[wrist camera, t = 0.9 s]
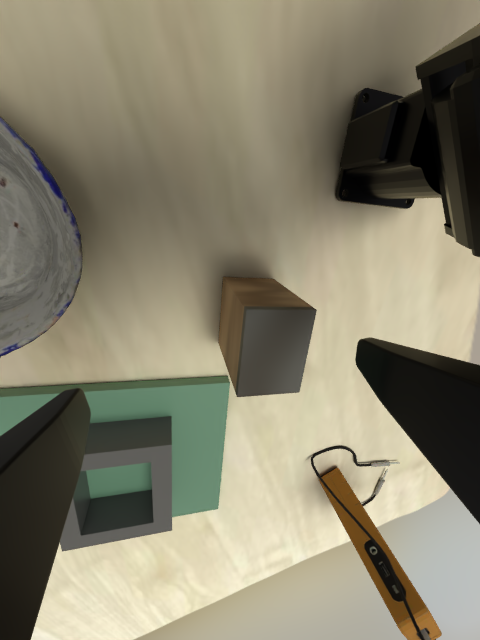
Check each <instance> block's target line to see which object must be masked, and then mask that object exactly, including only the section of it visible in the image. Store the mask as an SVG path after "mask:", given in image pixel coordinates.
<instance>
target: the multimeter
mask: <svg viewBox="0 0 480 640" xmlns="http://www.w3.org/2000/svg"><path fill="white" fill-rule="evenodd" d="M333 449H345V450H348V451H350V452H351V453H353V455H354V461H355V464H356V465H357V466H374V467H377V466H390V464H399V463H401V462H389V461H385V462H373V463H370V464H357V459H356V454H355V453H354V452H353V451H352V450H351V449H349V448H347V447H343V446H336V447H331V448H328V449H325V450H322V451H320V452H318V453H315V454H314V455H313V456H312V457H311V464H312V467H313V469H314V471H315V473H316V475H317V476H318V477H319V481H320V483H321V485H322V487H323V489H324V491H325V492H326V494H327V496H328V498H329V500H330V502H331V504H332V505H333V507H334V509H335V511H336V513H337V515H338V517H339V519H340V520H341V522H342V524H343V526H344V528H345V530H346V532H347V533H348V535H349V537H350V539H351V541H352V542H353V545H354V546H355V548H356V550H357V552H358V554H359V555H360V558H361V559H362V561H363V563H364V565H365V566H366V569H367V571H368V572H369V574H370V576H371V578H372V580H373V582H374V583H375V585H376V587H377V589H378V591H379V593H380V594H381V596H382V598H383V600H384V602H385V604H386V606H387V608H388V609H389V611H390V613H391V615H392V617H393V619H394V621H395V622H396V624H397V626H398V628H399V629H400V631H401V632H402V634H403V635H404V636H405V637H406V638H407V639H408V640H436V638H438V637H440V636H441V634H442V633H441V631H440V629H439V627H438V626H437V624H436V622H435V620H434V619H433V617H432V615H431V613H430V611H429V610H428V608H427V607H426V605H425V604H424V602H423V600H422V599H421V597H420V596H419V594H418V592H417V591H416V589H415V588H414V586H413V585H412V583H411V581H410V580H409V579H408V577H407V575H406V574H405V572H404V571H403V569H402V567H401V566H400V564H399V563H398V561H397V559H396V558H395V556H394V555H393V554H392V552H391V550H390V549H389V547H388V545H387V544H386V542H385V541H384V539H383V538H382V536H381V534H380V533H379V531H378V530H377V528H376V527H375V525H374V523H373V522H372V520H371V519H370V517H369V516H368V514H367V512H366V511H365V509H364V508H363V506H364V505H366V504H367V503H369V502H370V501H372V500H373V499H374V498H375V496H376V495H377V494H378V493H379V491H380V489H381V487H382V485H383V483H384V482H385V480H384V477H385V475H386V473H387V470H388V469H387V470H386V471H385V473H384V475H383V477H382V478H380V481H379V483H378V485H377V487H376V489H375V492H374V493H375V494H374V495H373V497H372V498H371V499H369V500H368V501H366V502H365V503H363V504H362V505H361V503H360V501H359V500H358V498H357V497H356V495H355V494H354V492H353V490H352V489H351V487H350V486H349V484H348V483H347V481H346V479H345V478H344V476H343V475H342V473H341V472H340V470H339V468H336V469H334V470H332V471H331V472H329V473H327V474H326V475H324V476H322V477H321V476H320V475H319V473H318V472H317V470H316V468H315V466H314V463H313V458H314V457H315V456H316V455H319V454H321V453H324V452H326V451H329V450H333Z"/></svg>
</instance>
